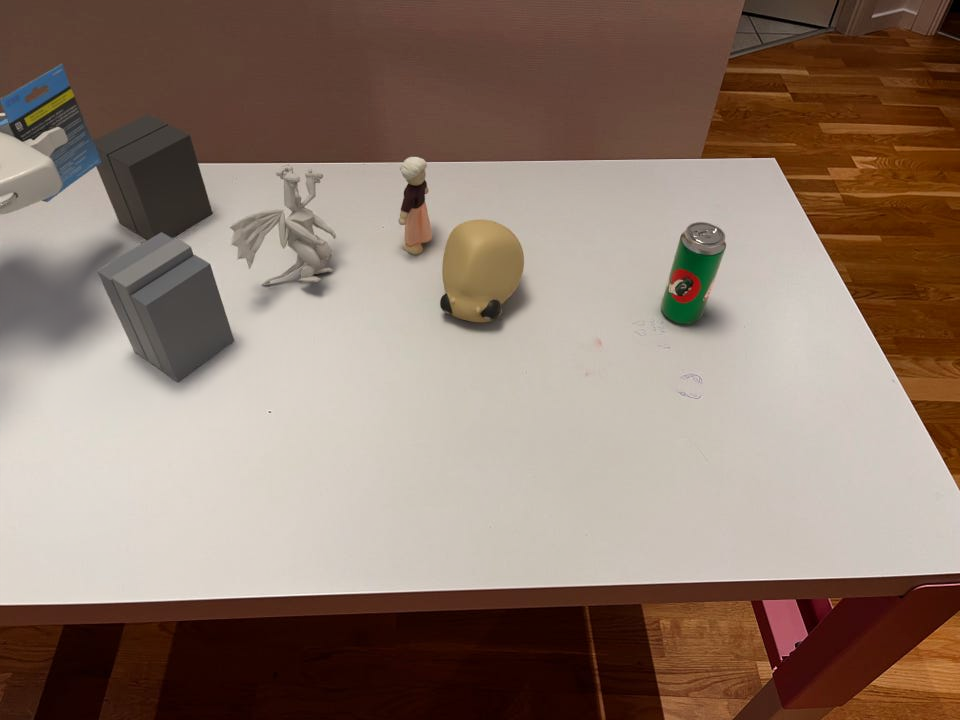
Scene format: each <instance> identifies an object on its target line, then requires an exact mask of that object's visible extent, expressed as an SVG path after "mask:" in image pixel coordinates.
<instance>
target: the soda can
mask: <svg viewBox="0 0 960 720" xmlns="http://www.w3.org/2000/svg"><path fill="white" fill-rule="evenodd" d="M726 248H727V242H726V233H725V232H724V230H723V229H722V228H720V227H719V226H718V225H715V224H713V223H710V222H707V221H706V222H705V221H698V222H697V221H696V222H693V223H690V224H689V225H687V226H686V229H685V230H684V231H683V232H681V234H680V237H679V240H678V244H677V247H676V251H675V254H674V258H673V261H672V265H671V269H670V272H669V275H668V279H667V282H666V285H665V289H664V292H663V297H662V300H661V304H660V308H661V311H662V313H663V314H664V316H665V317H666V318H667V319H668V320H670V321H671V322H674V323H677V324H681V325H688V324H693V323H695V322H697V321H699V320H700V319H701V318H702V317H703V316H704V312H705V309H706V306H707V304H708V300H709V297H710V296H711V295H710V294H711V292H712V288H713V287H714V283H715V281H716V277H717V274H718V272H719V268H720V265H721V263H722V260H723V257H724V254H725V252H726Z"/></svg>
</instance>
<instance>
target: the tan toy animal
mask: <svg viewBox="0 0 960 720" xmlns="http://www.w3.org/2000/svg"><path fill="white" fill-rule="evenodd" d="M524 268H525V255H524V250H523V247H522V244H521V241H520V240H519V238H518V237H517V235H516V234H515V233H514V232H513V231H512V230H511V229H510V228H508V227H506V226H505V225H503V224H501V223H500V222H496V221H493V220H489V219H471V220H467V221H466V220H465V221H464V222H461V223H459V224H457V225H456V226H455V227H453V229H452V230H451V231H450V233H449V236H448V238H447V240H446V244H445V247H444V251H443V257H442V267H441V269H442V270H441V274H442V276H441V277H442V282H443V288H444V289H443V290H444V291H445V293H444V294H443V295H442V296H441V298H440V300H439V307H440V308H441V310H442V311H443V312H444V313H446V314H448V315H451V316H453V317H455V318H457V319H460V320H464V321H467V322H472V323H489V322H492V321H495V320H496V319H498V318H499V317H500V316H501V315H502V313H503V308H502V305H503V304H504V303H505V302H506V301H507V300H508V299H509V298H510V297H511V296H512V295H513V294H514V292H515V291H516V290H517V288H518V287H519V284H520V283H521V280H522V277H523V274H524Z"/></svg>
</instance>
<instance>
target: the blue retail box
mask: <svg viewBox="0 0 960 720" xmlns="http://www.w3.org/2000/svg"><path fill="white" fill-rule="evenodd" d="M42 88H46V90H45V91H44V92H43V93H41V94H40V95H38V96H36V97H35V98H32V99H31V100H29V101H27V100H26V98H27V97H28V96H30V95H32V94H33V91H34V89H36V90H41V89H42ZM72 89H73V88H72V87H71V85H70V83H69V80H68V77H67V74H66V71H65V68H64V64H63V63H60V64H58V65H57V66H55V67H53V68H51V69H49V70H48V71H46V72H45V73H42V74H41V75H39V76H37V77H36V78H34V79H32V80H29V81H28V82H27V83H25V84H23V85H21V86H20V87H18V88H16V89H15V90H13V91H12V92H11V91H10V93H7V94H6V95H4V96H2V97H0V106H1V109H2V111H3V113H5V116H6V119H5V120H3V121H2V122H0V132H2V133H5V134H8V135H11V136H13V137H15V138H17V139H18V140H20V141H22V142H24V141H26V140H28V139H32V140H35V139H36V138H37V137H39V136H40V135H41V134H42V133H41V131H40V129H42V128H45V127H48V126H49V125H51V124H54V125H56V126H58V127H60V128H62V129H63V130H64V131H65V133H66V136H67V138H68V141H67V143H66V144H63V145H61V146H59V147H57V148H55V150H54V151H53V152H52V154H51V155H50V156H49V158H51V159H52V161H53V162H54V164H55V166H56V168H57V170H58V172H59V175H60V177H61V180H62V182H63V186H62V188H61V189H60V191H59V192H58V193H57V194H55V195H53V196H51V197H49V198H47V199H44V200H42V201H41V202H45V203H49V202H50V201H51V200H52V199H54V198H55V197H57V196H58V195H60V193H62V192H64V191H65V190H66V189H67V188H68V187H69V186H71V185H72V184H73V183H75V182H76V181H78V180H80V179H81V178H83V176H85V175H86V174H88V173H89V172H91V171H92V170H93V169H94V168H97V167H96V166H97V165H99V164H100V163H101V159H100V157H99V155H98V152H97V150H96V147H95V145H94V142H93V140H94V139H93V138H92V135H91V133H90V131H89V128H88V125H87V123H86V121H85V118H84V116H83V113H82V111H81V109H80V106H79V104H78V102H77V99H76V97H75V94H74V92H73V90H72Z"/></svg>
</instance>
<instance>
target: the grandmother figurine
mask: <svg viewBox="0 0 960 720" xmlns="http://www.w3.org/2000/svg"><path fill="white" fill-rule="evenodd" d="M427 167H428V163H427V161H426V160H425V159H423V158H422V157H419V156H410V157H407V158H406V159H405V160H404V161H403V162H402V164H401V165H400V166H399V170H400V173H401V176H402V177H403V178H404V179H405V181H406V182H407V184H406V186H405V188H404V190H403V198H402V199H403V200H402V203H401V207H400V213H399V219H398V224H399V225H400V226H404V243H403V245H402V249H403V250H405V251H406V252H407V253H409V254H411V255H414V256H416V255H420V254H422V252H423V251H424V248H423V247H424V246H423V245H422V244H427V243H428V242H430V241H431V240H432V239H433V231H432V226H431V221H430V216H429V211H428V206H427V203H426V195H428V193H429V188H428V182H427V180H426V175H427V173H426V168H427Z"/></svg>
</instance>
